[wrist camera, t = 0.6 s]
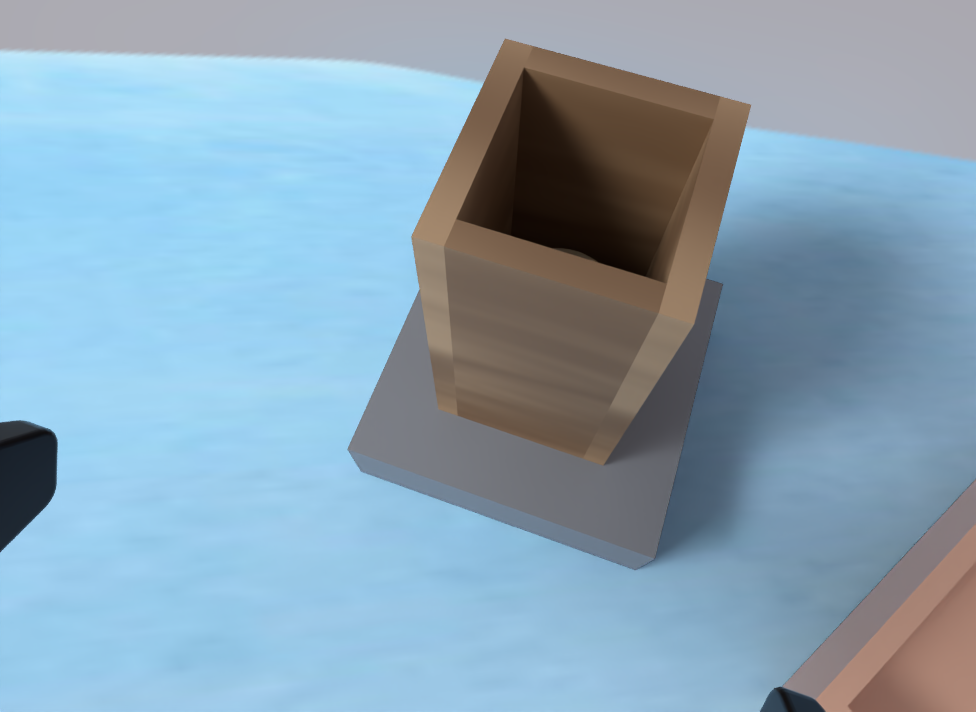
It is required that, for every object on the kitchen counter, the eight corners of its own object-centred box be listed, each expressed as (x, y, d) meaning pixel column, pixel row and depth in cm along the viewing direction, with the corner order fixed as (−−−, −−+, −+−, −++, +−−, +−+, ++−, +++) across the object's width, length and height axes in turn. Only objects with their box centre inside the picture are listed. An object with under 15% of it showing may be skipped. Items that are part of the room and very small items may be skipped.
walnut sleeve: (603, 465, 20) (693, 324, 11) (438, 409, 20) (411, 236, 12) (656, 285, 22) (762, 61, 14) (506, 239, 23) (524, -2, 14)
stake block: (635, 570, 21) (699, 533, 15) (360, 471, 22) (316, 399, 16) (699, 319, 24) (773, 206, 18) (459, 245, 25) (454, 115, 19)
